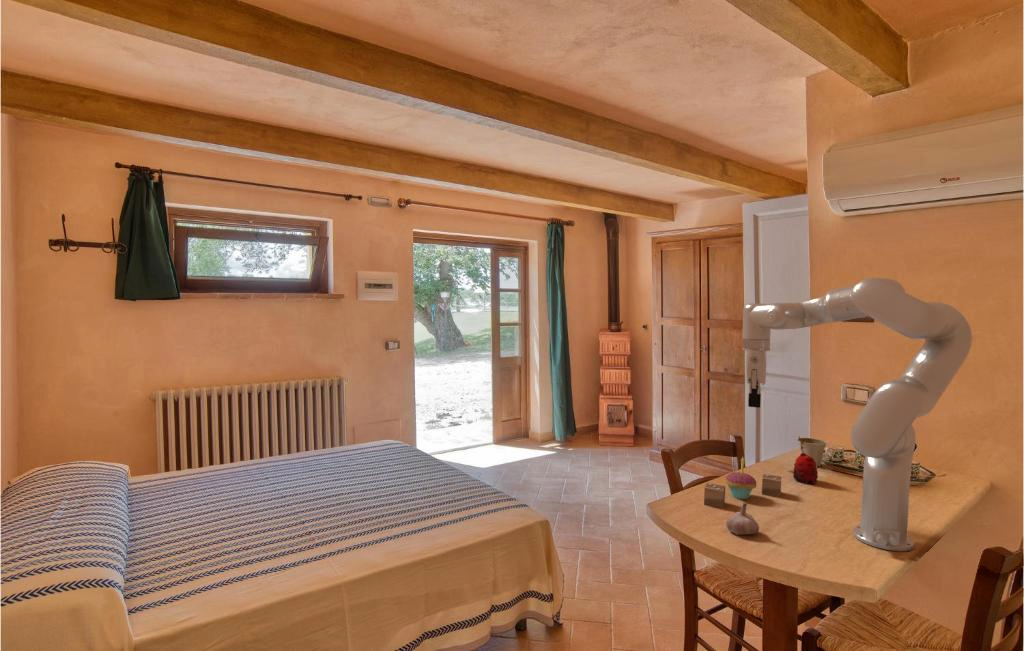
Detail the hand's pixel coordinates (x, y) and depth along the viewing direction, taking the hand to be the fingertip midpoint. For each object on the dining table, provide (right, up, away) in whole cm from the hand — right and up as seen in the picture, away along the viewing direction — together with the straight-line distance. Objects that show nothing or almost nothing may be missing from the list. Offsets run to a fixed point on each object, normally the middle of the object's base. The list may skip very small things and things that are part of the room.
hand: (754, 406), depth 161 cm
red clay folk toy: (+24, -27, +16) cm, 40 cm away
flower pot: (+36, -26, +35) cm, 57 cm away
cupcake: (-3, -27, +2) cm, 28 cm away
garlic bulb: (-14, -29, -24) cm, 40 cm away
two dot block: (+7, -27, +5) cm, 29 cm away
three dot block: (-13, -28, -4) cm, 31 cm away
